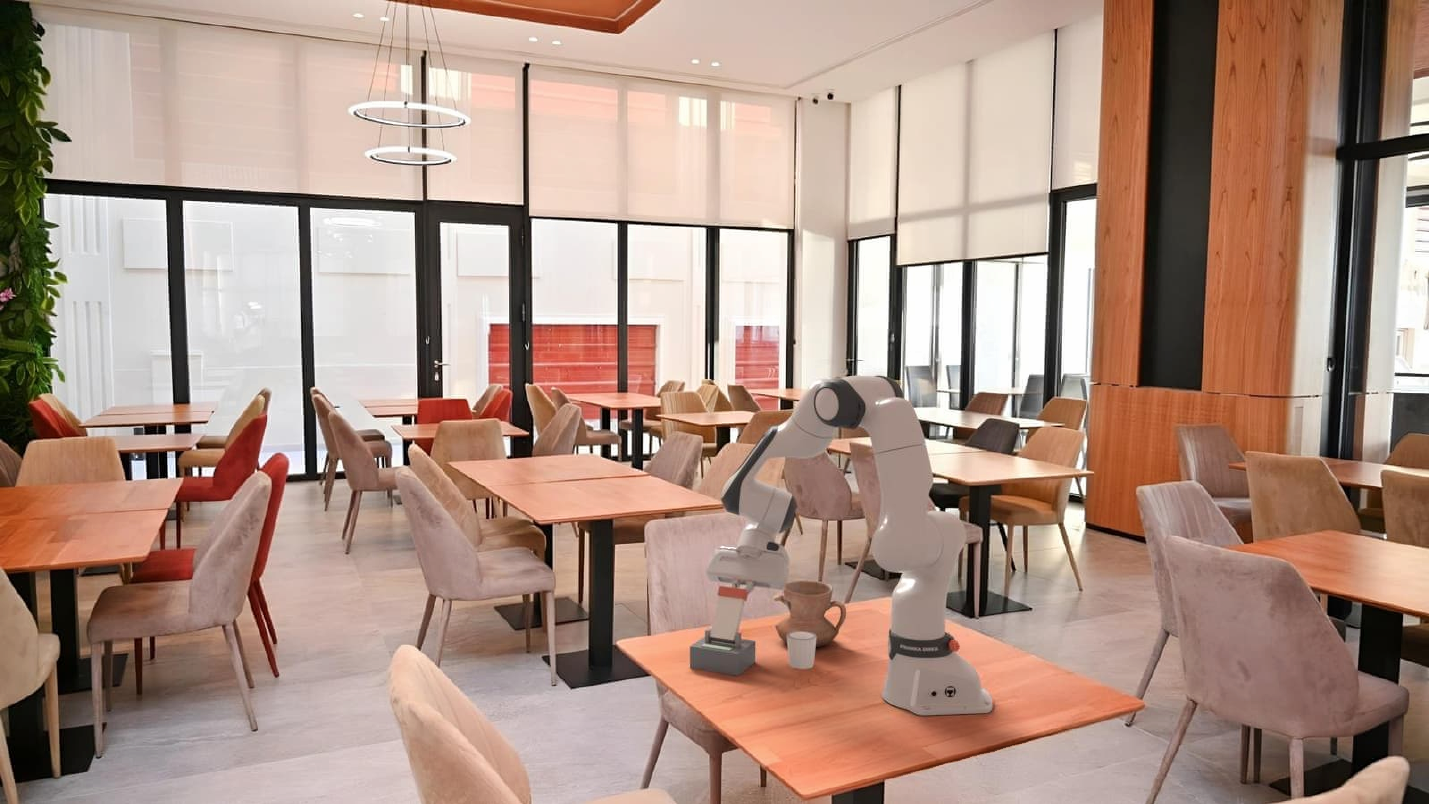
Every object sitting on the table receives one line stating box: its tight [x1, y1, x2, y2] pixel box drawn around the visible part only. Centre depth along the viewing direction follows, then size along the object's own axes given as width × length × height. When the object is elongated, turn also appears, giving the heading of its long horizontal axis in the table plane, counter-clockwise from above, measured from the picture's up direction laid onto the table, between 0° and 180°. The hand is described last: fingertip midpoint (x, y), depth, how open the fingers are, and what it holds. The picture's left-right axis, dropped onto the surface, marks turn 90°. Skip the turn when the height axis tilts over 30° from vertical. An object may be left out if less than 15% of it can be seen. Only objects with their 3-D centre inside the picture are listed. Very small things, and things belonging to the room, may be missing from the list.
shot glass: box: [786, 631, 817, 670], centre depth 221 cm, size 7×7×7 cm
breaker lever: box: [710, 585, 749, 644], centre depth 223 cm, size 3×6×13 cm, turn 65°
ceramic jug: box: [773, 579, 847, 648], centre depth 237 cm, size 18×14×14 cm
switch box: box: [689, 627, 756, 677], centre depth 221 cm, size 10×12×8 cm
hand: (738, 599), depth 228 cm, fingers closed
